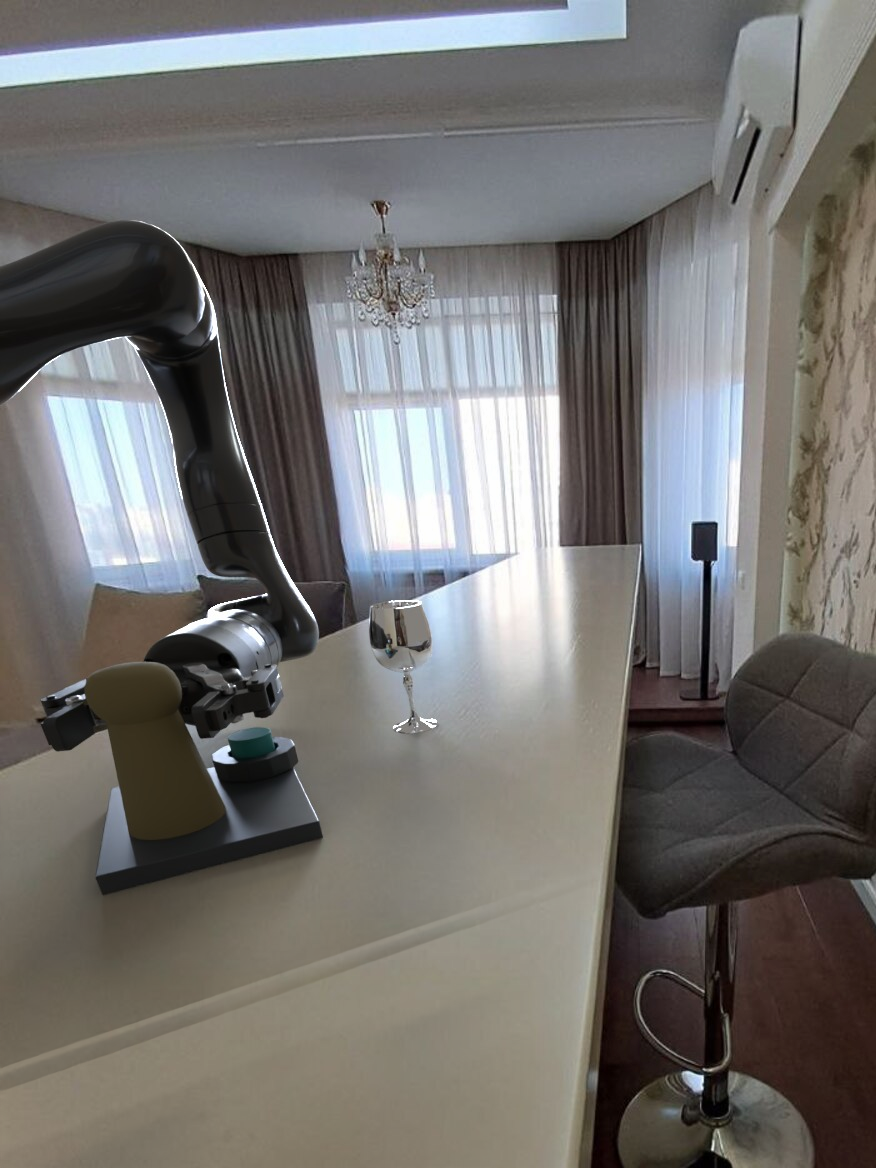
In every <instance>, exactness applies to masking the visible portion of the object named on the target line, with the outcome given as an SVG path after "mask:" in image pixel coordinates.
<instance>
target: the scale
mask: <svg viewBox="0 0 876 1168" xmlns="http://www.w3.org/2000/svg"><path fill="white" fill-rule="evenodd" d="M272 738H273V742H274V746H275V750H274V751H273V752H270V753H268V754H265V755H261V756H257V757H252V758H240V759H236V758H233V756H232V753H231V749H230V746H229V744H228V745H225V746H222V747H220V748H219V749H218V750H216V751H215V752H213V753H212V754H211V760H212V764H213V767H207V770H208V772H209V774H210V776H211V778H212V780H213V782H214V784H215V786H216V788H217V791H218V793H219V795H220V797H221V799H222V801H223V803H224V805H225V807H226V812H225V814H224V815H223V816H222V817H221V818H220V819H219V820H217V821H216V822H214V823H213V824H211V825H209V826H207V827H205V828H203V829H200V830H198V831H195V832H192V833H189V834H186V835H182V836H177V837H173V838H168V839H159V840H141V839H137V838H134V837H132V836H131V835H130V834H129V832H128V827H127V822H126V817H125V812H124V807H123V802H122V797H121V793H120V788H119V786H115V787H111V788H110V792H109V793H110V794H109V798H108V804H107V808H106V809H107V810H106V816H105V822H104V826H103V833H102V837H101V843H100V847H99V854H98V860H97V865H96V871H95V876H94V878H95V882H96V883H97V885H98V888H99V890H100V893H101V895H102V896H106V895H110V894H113V893H117V892H121V891H124V890H125V891H126V890H129V889H132V888H136V887H141V886H144V885H148V884H152V883H155V882H159V881H163V880H168V879H170V878H175V877H178V876H179V877H180V876H182V875H186V874H190V873H194V872H198V871H201V870H205V869H209V868H214V867H216V866H221V865H224V864H228V863H232V862H236V861H240V860H243V859H247V858H252V857H255V856H259V855H263V854H266V853H271V852H274V851H278V850H282V849H285V848H290V847H293V846H297V845H301V844H304V843H308V842H313V841H315V840H320V839H323V838H324V835H323V831H322V826H321V823H320V821H319V820H320V819H319V817H318V816H317V813H316V812H315V809H314V807H313V805H312V804H311V801H310V799H309V797H308V795H307V792H306V791H305V789H304V786H303V785H302V782H301V779H300V778H299V776H298V773H297V772H296V770H295V768H294V767H295V766H296V765H297V764H298V763H299V757H298V753H297V750H296V746H295V743H294V741H293V739H291V738H287V737H283V736H272Z"/></svg>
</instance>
